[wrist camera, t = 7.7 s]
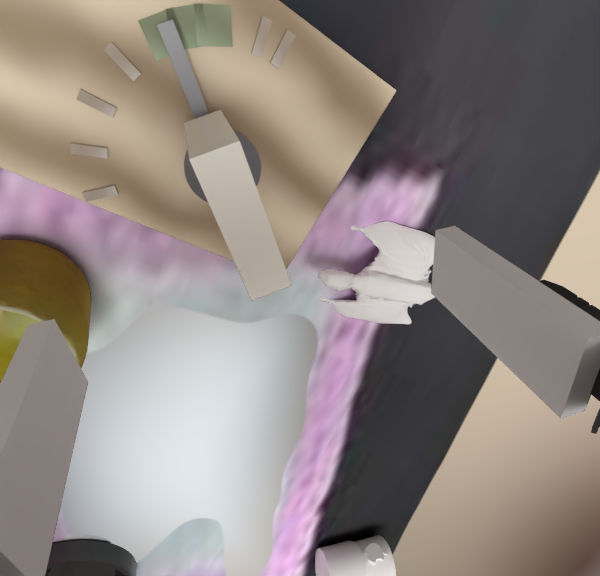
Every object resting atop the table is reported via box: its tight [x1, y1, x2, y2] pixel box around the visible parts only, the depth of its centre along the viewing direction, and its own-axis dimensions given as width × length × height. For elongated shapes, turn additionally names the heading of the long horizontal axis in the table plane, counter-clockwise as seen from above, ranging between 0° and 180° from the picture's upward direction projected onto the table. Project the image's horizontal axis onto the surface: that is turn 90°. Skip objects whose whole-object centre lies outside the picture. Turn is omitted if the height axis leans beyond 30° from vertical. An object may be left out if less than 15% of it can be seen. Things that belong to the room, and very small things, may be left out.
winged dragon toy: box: [318, 221, 435, 324], centre depth 38 cm, size 18×10×4 cm, turn 70°
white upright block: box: [157, 20, 292, 301], centre depth 22 cm, size 5×12×10 cm, turn 16°
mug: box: [0, 239, 91, 383], centre depth 29 cm, size 12×10×10 cm
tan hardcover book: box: [0, 0, 396, 269], centre depth 27 cm, size 16×22×3 cm
